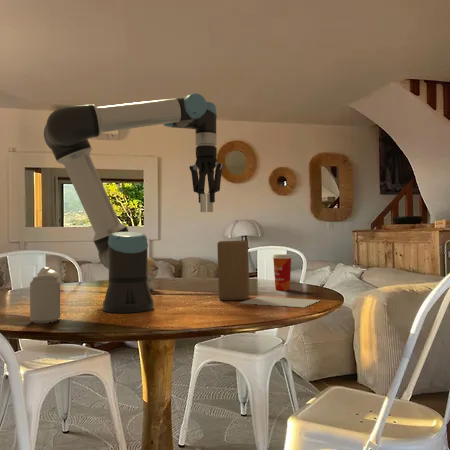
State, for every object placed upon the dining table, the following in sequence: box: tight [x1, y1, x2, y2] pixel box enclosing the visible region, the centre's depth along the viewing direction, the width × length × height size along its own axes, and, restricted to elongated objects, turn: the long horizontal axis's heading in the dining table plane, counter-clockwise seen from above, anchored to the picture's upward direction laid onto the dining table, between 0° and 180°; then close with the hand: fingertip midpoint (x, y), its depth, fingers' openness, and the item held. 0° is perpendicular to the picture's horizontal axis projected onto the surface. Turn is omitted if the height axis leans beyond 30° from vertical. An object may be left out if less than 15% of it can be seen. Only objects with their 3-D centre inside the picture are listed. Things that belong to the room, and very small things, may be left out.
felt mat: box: [239, 295, 321, 309], centre depth 155 cm, size 16×22×1 cm
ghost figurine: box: [36, 266, 62, 284], centre depth 189 cm, size 9×10×10 cm
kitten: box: [147, 256, 160, 292], centre depth 189 cm, size 15×10×15 cm
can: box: [29, 276, 61, 324], centre depth 126 cm, size 8×8×12 cm
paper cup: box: [272, 253, 293, 292], centre depth 188 cm, size 8×8×14 cm
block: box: [216, 239, 251, 301], centre depth 164 cm, size 10×10×20 cm
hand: (206, 211), depth 170 cm, fingers open, 2 cm apart
